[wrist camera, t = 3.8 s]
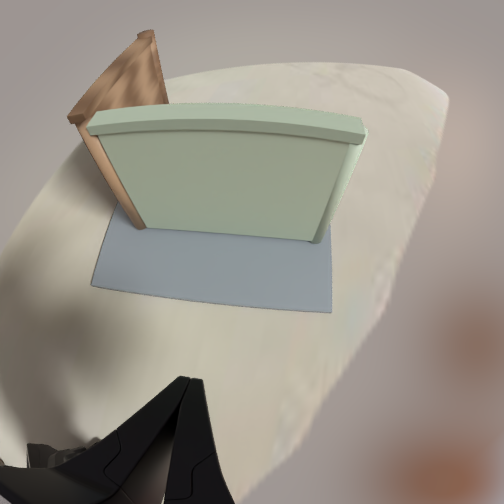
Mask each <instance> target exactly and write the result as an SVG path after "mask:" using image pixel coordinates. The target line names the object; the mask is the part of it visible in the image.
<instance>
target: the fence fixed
mask: <svg viewBox="0 0 504 504" xmlns="http://www.w3.org/2000/svg"><path fill="white" fill-rule="evenodd" d="M137 36H138V38H137V39H136V40H135V41H134V42H133V43H132V44H131V45H130V46H129V47H128V48H127V49H126V50H125V51H124V52H123V53H122V54H121V55H120V56H119V57H118V58H117V59H116V60H115V61H114V62H113V63H112V64H111V65H110V66H109V67H108V68H107V69H106V70H105V71H104V72H103V73H102V74H101V75H100V77H99V78H98V79H97V80H96V81H95V82H94V83H93V84H92V86H91V87H90V88H89V89H88V90H87V92H86V93H85V94H84V95H83V97H82V98H81V99H80V100H79V101H78V103H77V104H76V105H75V106H74V108H73V109H72V110H71V112H70V113H69V114H68V116H67V118H68V120H69V121H70V123H71V124H74V123H75V125H76V127H77V129H78V131H79V126H80V125H81V124H82V123H83V122H84V121H85V120H86V119H88V118H90V117H93V116H94V115H95V113H96V112H97V111H103V110H110V109H118V108H126V107H136V106H147V105H160V104H169V101H168V97H167V93H166V88H165V84H164V79H163V75H162V70H161V65H160V60H159V55H158V50H157V45H156V40H155V35H154V30H146V31H143V32H141V33H139V34H137ZM79 133H80V132H79ZM80 135H81V133H80ZM81 136H82V135H81ZM82 139H83V137H82ZM83 140H84V139H83ZM84 142H85V141H84ZM85 144H86V143H85ZM86 146H87V145H86ZM87 148H88V147H87ZM88 150H89V148H88ZM89 152H90V150H89ZM90 153H91V152H90ZM91 155H92V154H91ZM92 157H93V156H92ZM93 159H94V158H93ZM94 161H95V159H94ZM95 162H96V161H95ZM96 164H97V163H96ZM97 166H98V165H97ZM98 168H99V166H98ZM99 169H100V168H99ZM100 171H101V170H100ZM101 173H102V172H101ZM102 175H103V173H102ZM103 176H104V175H103ZM104 178H105V177H104ZM105 180H106V179H105ZM106 181H107V180H106ZM107 183H108V182H107ZM108 185H109V184H108ZM109 186H110V185H109ZM110 188H111V187H110ZM111 190H112V189H111ZM112 191H113V190H112ZM113 193H114V192H113ZM114 195H115V194H114ZM115 196H116V195H115ZM116 198H117V197H116ZM117 200H118V199H117ZM118 201H119V200H118ZM119 203H120V202H119ZM121 206H122V205H121ZM122 208H123V207H122ZM123 209H124V208H123ZM124 211H125V210H124ZM126 214H127V213H126Z"/></svg>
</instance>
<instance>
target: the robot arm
mask: <svg viewBox="0 0 504 504" xmlns="http://www.w3.org/2000/svg"><path fill="white" fill-rule="evenodd" d="M164 494H165V497H164ZM163 497H164V504H235V503H234V500H233V498H232V496H231V494H230V492H229V490H228V487H227V485H226V482H225V480H224V477H223V475H222V471H221V468H220V464H219V460H218V456H217V453H216V447H215V442H214V437H213V433H212V427H211V422H210V417H209V412H208V406H207V401H206V395H205V389H204V383H203V380H202V379H198V378H190V377H185V376H179V377H177V378H176V379H175V380H174V381H173V382H172V383H170V384H169V385H168V386H167V387H166V388H165V389H163V390H162V391H161V392H160V393H159V394H158V395H156V396H155V397H154V398H153V399H152V400H150V401H149V402H148V403H147V404H146V405H145V406H143V407H142V408H141V409H140V410H139V411H137V412H136V413H135V414H134V415H133V416H131V417H130V418H129V419H128V420H126V421H125V422H124V423H123V424H122V425H120V426H119V427H118V428H117V430H114V431H113V432H111V433H110V434H109V435H108V436H106V437H105V438H104V439H102V440H101V441H100V442H97V443H95V444H94V445H93V446H91V447H90V448H89V449H86V448H85V447H78V448H75V449H71V450H70V449H67V450H62V451H57V450H56V449H54V448H52V447H51V446H49V445H44V444H31V443H28V444H27V468H18V467H12V466H6V465H4V466H0V504H161V503H162V500H163Z"/></svg>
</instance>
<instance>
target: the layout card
mask: <svg viewBox="0 0 504 504" xmlns="http://www.w3.org/2000/svg"><path fill="white" fill-rule="evenodd" d="M91 285H92V286H93V287H99V288H105V289H111V290H117V291H123V292H129V293H136V294H142V295H149V296H156V297H163V298H171V299H178V300H186V301H194V302H203V303H212V304H221V305H231V306H241V307H251V308H263V309H275V310H288V311H303V312H319V313H331V312H332V256H331V230H330V224H329V226H328V229H327V231H326V233H325V235H324V237H323V239H322V241H321V242H320V243H319V244H313V243H311V242H310V241H305V240H294V239H283V238H272V237H261V236H249V235H237V234H225V233H212V232H199V231H186V230H173V229H159V228H145V229H143V230H138V229H136V227H135V226H134V224H133V223H132V221H131V220H130V218H129V216H128V215H127V214H126V212H125V211H124V209H123V208H122V206H121V204H120V203H119V201H118V203H117V205H116V208H115V211H114V213H113V216H112V219H111V222H110V224H109V227H108V230H107V233H106V236H105V239H104V242H103V245H102V249H101V252H100V255H99V258H98V262H97V265H96V269H95V272H94V276H93V280H92V283H91Z"/></svg>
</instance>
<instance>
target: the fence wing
mask: <svg viewBox="0 0 504 504" xmlns="http://www.w3.org/2000/svg"><path fill="white" fill-rule="evenodd" d="M79 132H80V133H81V135H82V137H83V139H84V141H85V143H86V145H87V147H88V148H89V150H90V152H91V154H92V156H93V158H94V159H95V161H96V163H97V165H98V166H99V168H100V170H101V172H102V173H103V175H104V177H105V179H106V180H107V182H108V184H109V185H110V187H111V189H112V190H113V192H114V194H115V195H116V197H117V199H118V200H119V202H120V204H121V205H122V207H123V208H124V210H125V212H126V213H127V215H128V216H129V218H130V220H131V221H132V223H133V224H134V226H135V227H136V229H138V230H143V229H145V228H159V229H173V230H186V231H199V232H212V233H225V234H237V235H249V236H261V237H272V238H283V239H294V240H305V241H310V242H311V243H313V244H319V243H320V242H321V241H322V239H323V237H324V235H325V233H326V231H327V229H328V226H329V224H330V222H331V220H332V218H333V216H334V213H335V211H336V209H337V207H338V204H339V202H340V200H341V198H342V195H343V193H344V191H345V189H346V186H347V184H348V182H349V179H350V177H351V175H352V172H353V170H354V168H355V165H356V163H357V160H358V158H359V156H360V153H361V151H362V148H363V146H364V143H365V141H366V138H367V136H368V129H367V128H366V127H365V126H364V125H363V123H362V120H361V118H359V117H353V116H348V115H343V114H337V113H331V112H324V111H317V110H310V109H302V108H293V107H284V106H272V105H259V104H239V103H179V104H160V105H147V106H136V107H126V108H118V109H110V110H103V111H97V112H96V113H95V115H94V116H93V117H90V118H88V119H86V120H85V121H84V122H83V123H82V124H81V125H80V126H79Z"/></svg>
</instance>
